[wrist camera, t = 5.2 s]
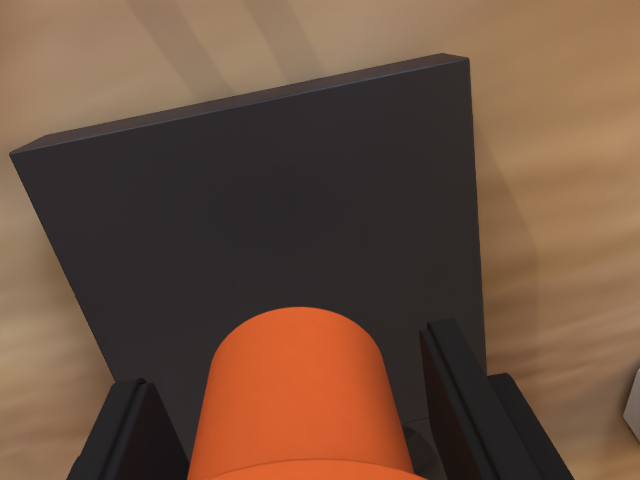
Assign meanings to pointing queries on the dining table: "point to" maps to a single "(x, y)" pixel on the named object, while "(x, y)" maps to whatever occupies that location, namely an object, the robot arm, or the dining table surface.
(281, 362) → the stopper
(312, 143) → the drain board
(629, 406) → the flask
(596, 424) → the dining table surface
